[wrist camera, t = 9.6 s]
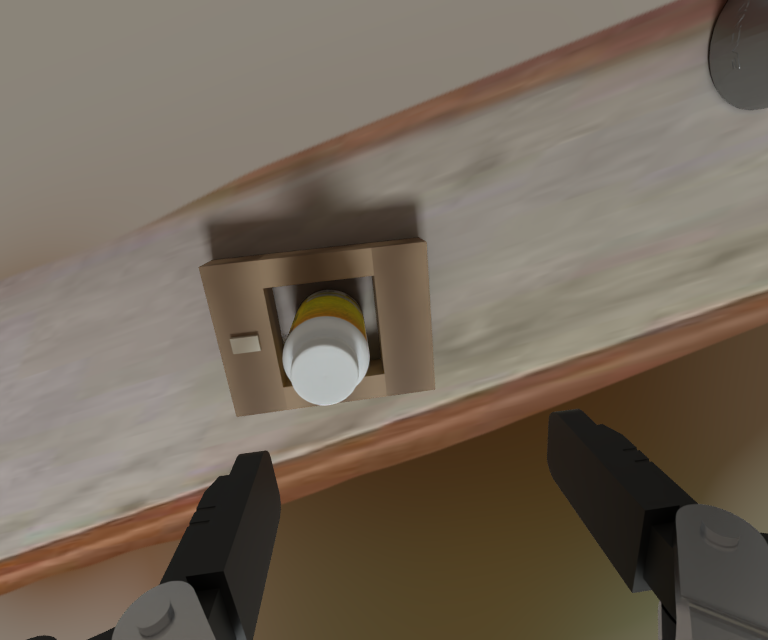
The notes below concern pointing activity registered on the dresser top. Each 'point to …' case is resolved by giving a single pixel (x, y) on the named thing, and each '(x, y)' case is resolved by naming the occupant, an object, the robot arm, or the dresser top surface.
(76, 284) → the dresser top surface
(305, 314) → the supplement bottle
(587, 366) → the dresser top surface
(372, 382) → the holder block
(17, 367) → the dresser top surface
